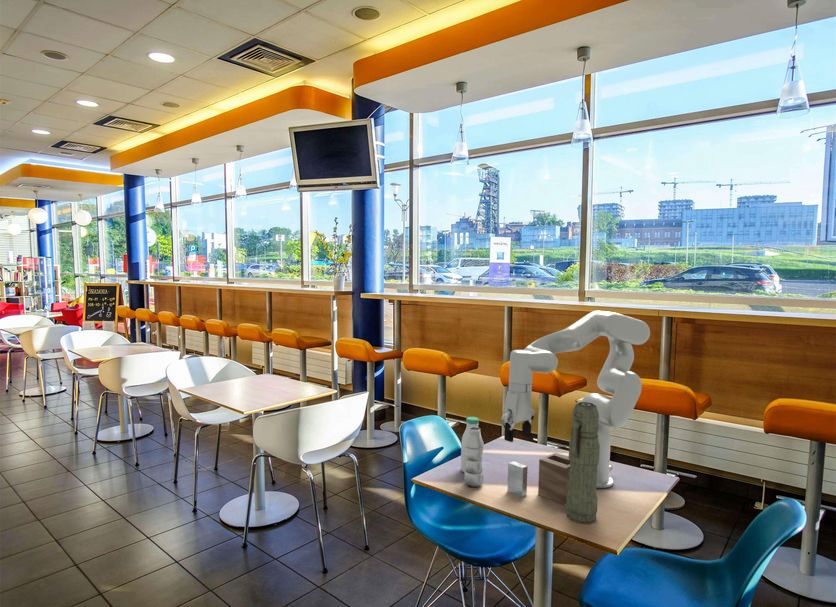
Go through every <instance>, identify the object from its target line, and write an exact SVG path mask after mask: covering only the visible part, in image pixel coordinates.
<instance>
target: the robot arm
mask: <svg viewBox="0 0 836 607" xmlns="http://www.w3.org/2000/svg"><path fill="white" fill-rule="evenodd" d="M601 336H603V337H607V339H608V343H609V352H608V355H607V358H606V360H605V362H604V364H603V366H602V368H601V370H600V372H599V374H598V377H597V380H596V383H597V384H596V385H597V387H598V389H600V390H601V391H602V392H605V393H607V394H610V395H612V397H610V396H608V395H604V394H601V393H596V392H592V393H591V392H590V393H588V394H586V395H584V397H583V398H582V400H581V402H588V403H592V404H594V405H596V406H597V410H598V413H599V427H598V434H597V435H598V441H599V444H600V454H599V464H598V465H597V484H596V489H604V488H606V489H607V488H610V487H612V486H613V485H614V479H613V478H612V477H611V476H610V472H612V471H613V469H614V467H613V466H612V465H611V464H610V461H611V460H610V458H611V440H612V434H611V428H613V429H619V428H622V427H623V426H625V425H626V423H627V422H628V420H629V419H630V417H631V415H632V412H633V410H634V409H635V406H636V404H637V402H638V400H639V398H640V395H641V393H642V386H643V384H642V379H641V377H640V376H639V375H638V374H637V373H635V372H633V371H630V370H631V368H632V365H633V363H634V360H635V352H634V349H633V348H634V347H633V346H632V345H636V346H637V345H638V346H639V345H643V344H645V343H646V342H647V341H648V340H649V339H650V336H651V329H650V327H649V325H648V324H647V323H646V322H645V321H644V320H640V319H637V318H634V317H631V316H628V315H624V314H621V313H618V312H612V311H605V310H603V311H602V310H593V311H590V312H589V313H587V314H585V315H584V316H582V317H581V318H579V319H577V320H576V321H575V322H574V323H572V324H571V325H569V326H568V327H565V328H564V329H560V330H559V331H555V332H552V333H550V334H547V335H544V336H542V337H540V338H538V339H536V340H534V341H533V342H531V343H529V345H527V346H526V347H525V348H524V349H514V350H512V351H510V354H509V373H508V376H509V377H508V390H507V393H506V397H505V402H504V410H503V411H504V412H503V415H502V416H501V418H500V419H501V422H502V427H503V429H504V438H503V439H504V440H505V441H507V442H509V443H513V442H514V437H515V436H514V433H515V431H514V427H515V425H516V424H520V423H521V424H522V426H521V428H522V429H521V434H522V435H524V436H527V437H531V435H532V424H533V420H534V418H535V413H536V409H534V408H533V396H532V394H533V393H532V389H533V388H532V387H533V373H540V374H549V373H553V372H554V371H555V370H556V369H557V367H558V364H559V360H558V357H557V356H556V354H559V353H570V352H575V351H579V350H582V349H583V348H584V347H586V346H587V345H588V344H590V343H592V342H593V341H594V340H596V339H597V338H598V337H601Z"/></svg>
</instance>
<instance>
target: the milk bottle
mask: <svg viewBox="0 0 836 607" xmlns="http://www.w3.org/2000/svg"><path fill="white" fill-rule="evenodd" d="M465 422H466V423H465V424H466V428H465V430H464V432H463V434H462V438H461V450H460V470H461V472H462V473H464V474H465V471H466V449H465V441H466V439H467V438H468V437H469V435H470V434H469V432H470V428H471V427H478V428H479V422H480V420H479V417H477V416H468V417H466V418H465ZM480 437H481V438H482V435H481V434H480Z"/></svg>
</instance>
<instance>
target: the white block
mask: <svg viewBox="0 0 836 607" xmlns="http://www.w3.org/2000/svg"><path fill="white" fill-rule="evenodd" d="M507 463H508V464H507V465H508V466H507V493H510V494H512V495H514V496H517V497H520V498H524V497H526V496H527V494H528V492H527V491H528V465H525V464H523V463H519V462H517V461H514V460H513V461H509V462H507Z"/></svg>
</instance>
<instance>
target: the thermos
mask: <svg viewBox="0 0 836 607" xmlns="http://www.w3.org/2000/svg"><path fill="white" fill-rule="evenodd" d="M571 416H572V420H571V422H572V423H571V436H570V438H569V443H568V444H569V445H568V457H569V460H570V477H569V490H568V493H567V504H566V517H567V518H568V519H569V520H571V521H573V522H574V523H577V522H578V523H577V524H582V523H583V525H585V524H586V525H587V524H588V525H589V524H593V523H595V522H596V521H597V512H598V505H599V504H598V502H599V500H598V499H599V498H598V494H597V488H596V484H597V465H598V464H599V454H600V444H599V441H598V435H597V434H598V427H599V413H598V410H597V406H596V405H594V404H592V403H588V402H582V401H581V402H577V403H575V405H574V407H573V409H572V415H571Z"/></svg>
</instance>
